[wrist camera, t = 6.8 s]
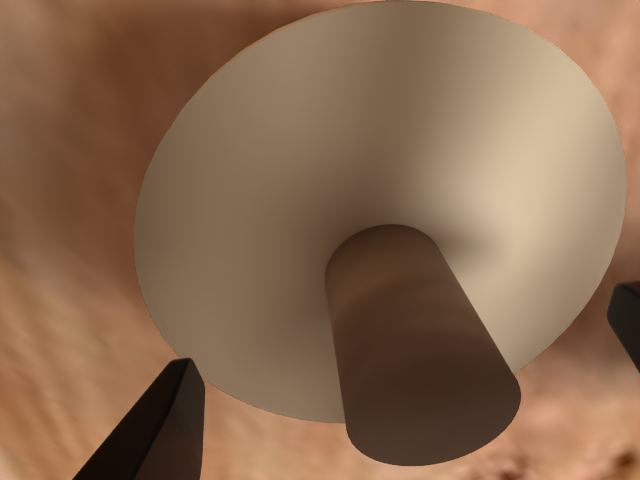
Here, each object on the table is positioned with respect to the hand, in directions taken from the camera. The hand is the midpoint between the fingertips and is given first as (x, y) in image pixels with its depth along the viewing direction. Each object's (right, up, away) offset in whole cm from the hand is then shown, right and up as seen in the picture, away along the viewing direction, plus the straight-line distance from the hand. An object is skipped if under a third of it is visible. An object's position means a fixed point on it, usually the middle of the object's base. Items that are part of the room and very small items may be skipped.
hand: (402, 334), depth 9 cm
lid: (0, +2, +3) cm, 3 cm away
